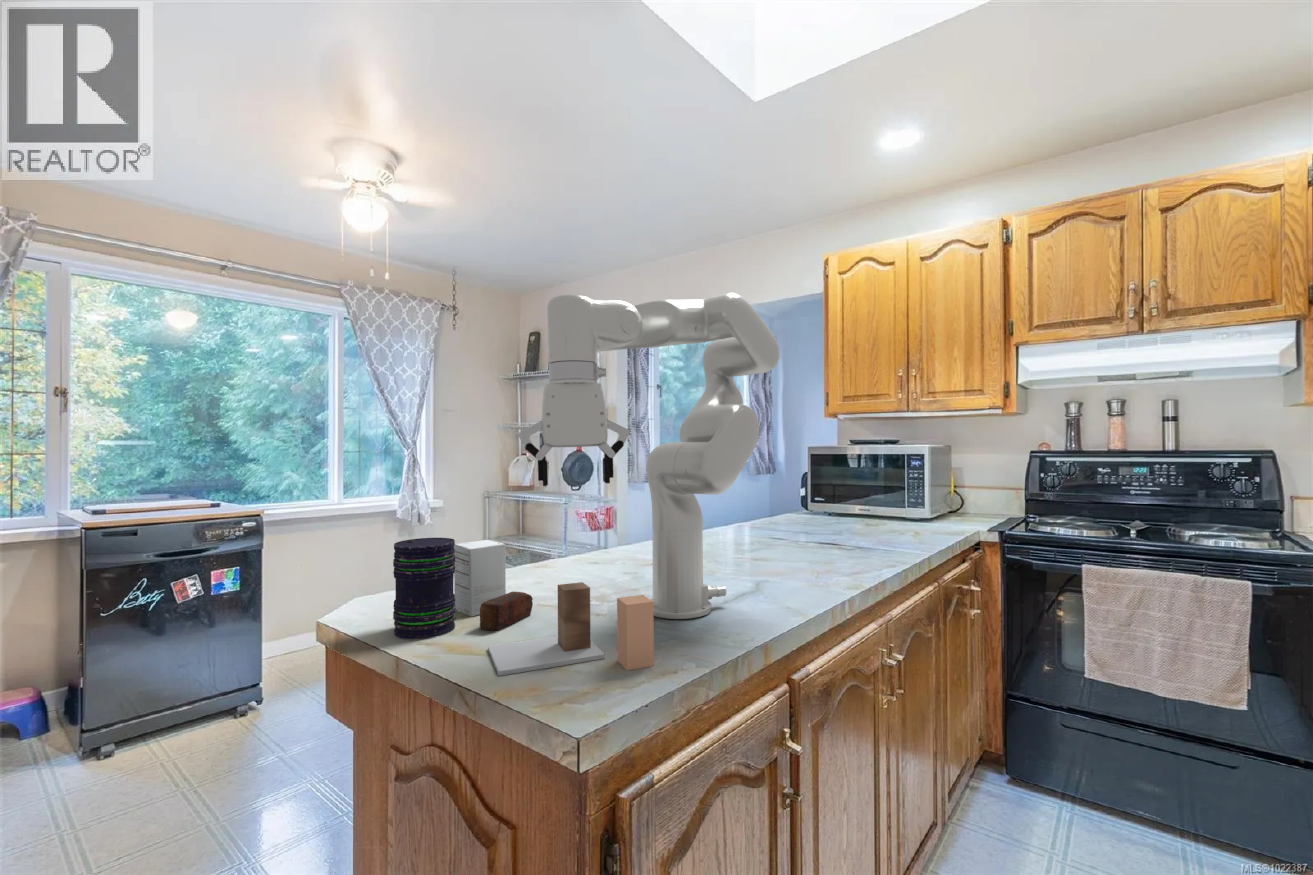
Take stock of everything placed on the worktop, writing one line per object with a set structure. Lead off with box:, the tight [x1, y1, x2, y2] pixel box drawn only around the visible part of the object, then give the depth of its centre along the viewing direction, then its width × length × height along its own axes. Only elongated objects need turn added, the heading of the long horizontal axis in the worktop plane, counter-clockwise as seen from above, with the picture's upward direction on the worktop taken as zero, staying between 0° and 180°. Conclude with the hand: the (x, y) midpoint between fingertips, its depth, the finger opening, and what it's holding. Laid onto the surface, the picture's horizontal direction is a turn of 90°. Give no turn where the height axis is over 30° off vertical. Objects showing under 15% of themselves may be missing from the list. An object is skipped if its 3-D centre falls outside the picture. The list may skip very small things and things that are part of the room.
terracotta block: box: [616, 594, 655, 671], centre depth 82 cm, size 4×4×9 cm
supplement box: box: [453, 539, 507, 618], centre depth 110 cm, size 7×7×13 cm
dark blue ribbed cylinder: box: [392, 537, 457, 641], centre depth 97 cm, size 10×10×15 cm
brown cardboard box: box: [557, 581, 592, 652], centre depth 87 cm, size 4×4×9 cm
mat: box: [487, 635, 605, 677], centre depth 85 cm, size 15×11×1 cm
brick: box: [479, 591, 534, 633], centre depth 101 cm, size 11×4×5 cm, turn 160°
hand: (576, 484), depth 90 cm, fingers open, 9 cm apart
